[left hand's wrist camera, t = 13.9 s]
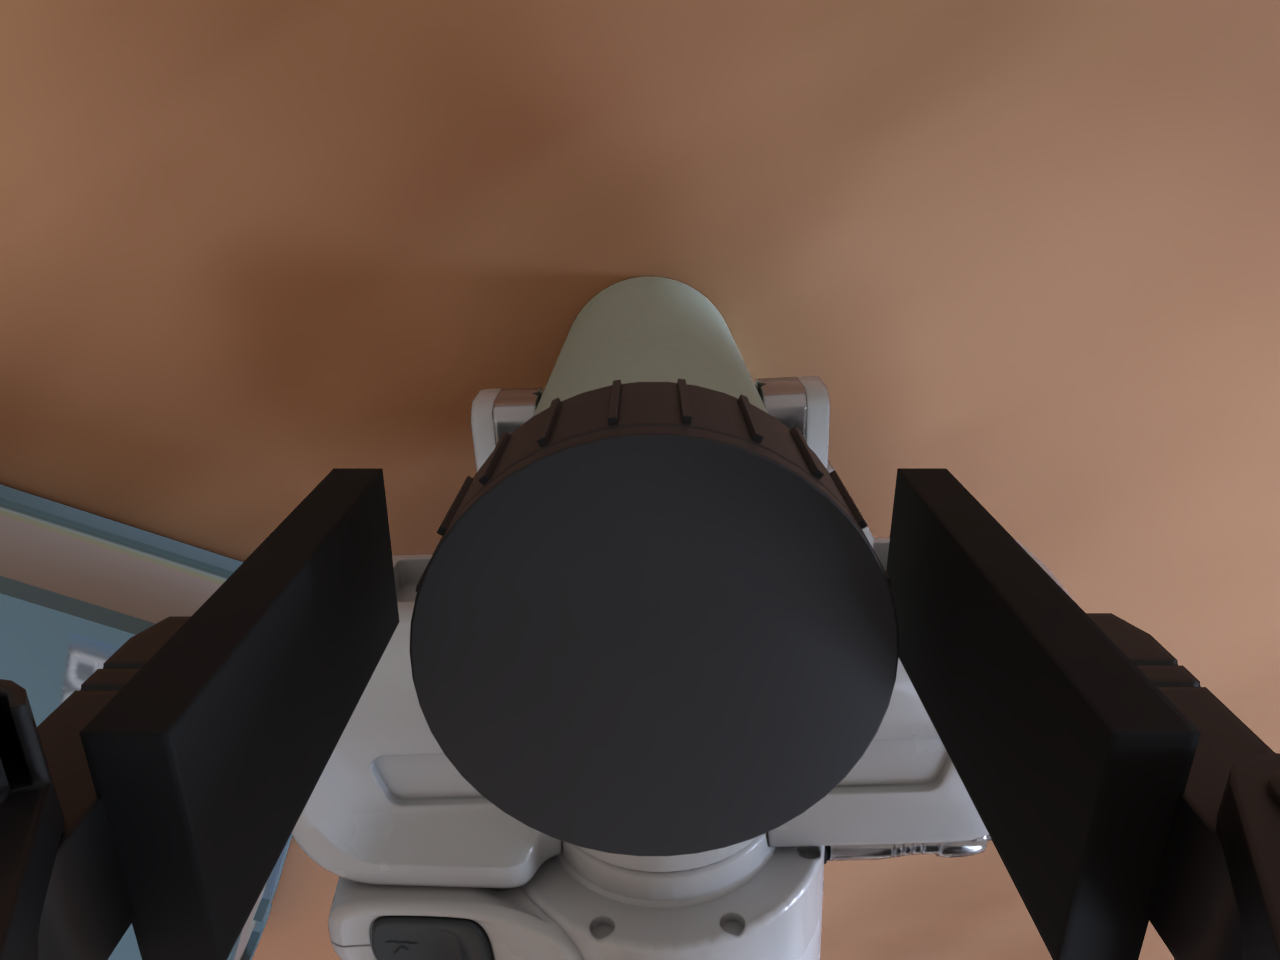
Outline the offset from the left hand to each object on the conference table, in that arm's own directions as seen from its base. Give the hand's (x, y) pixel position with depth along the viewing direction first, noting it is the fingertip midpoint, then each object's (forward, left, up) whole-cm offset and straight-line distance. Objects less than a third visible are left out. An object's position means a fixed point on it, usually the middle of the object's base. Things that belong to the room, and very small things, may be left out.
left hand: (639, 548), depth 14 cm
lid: (0, 0, +3) cm, 3 cm away
